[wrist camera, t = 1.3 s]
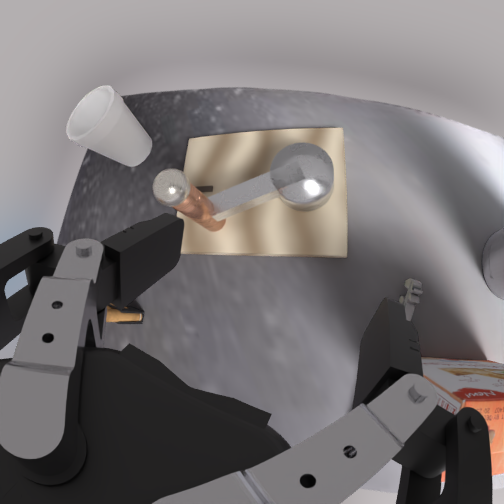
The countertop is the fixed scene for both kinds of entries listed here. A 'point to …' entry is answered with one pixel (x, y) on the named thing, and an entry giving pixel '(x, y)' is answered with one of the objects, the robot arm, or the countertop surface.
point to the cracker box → (472, 395)
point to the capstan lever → (254, 187)
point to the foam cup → (109, 128)
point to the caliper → (411, 296)
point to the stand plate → (271, 212)
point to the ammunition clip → (124, 315)
